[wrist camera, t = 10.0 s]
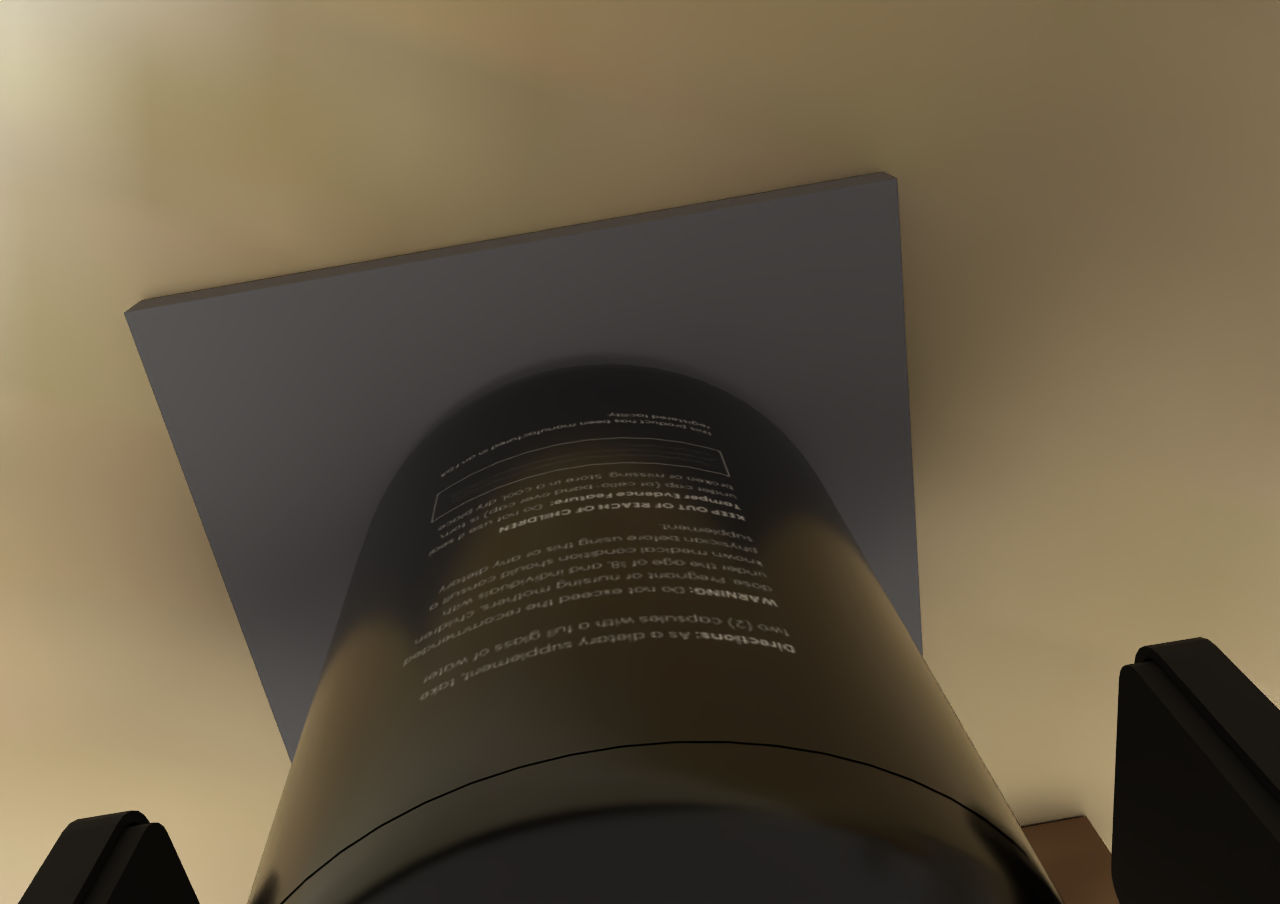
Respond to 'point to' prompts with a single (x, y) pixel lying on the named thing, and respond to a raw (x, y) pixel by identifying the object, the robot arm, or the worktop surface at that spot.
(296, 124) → the worktop surface
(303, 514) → the pad
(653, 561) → the supplement bottle
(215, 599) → the worktop surface
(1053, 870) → the walnut rail
